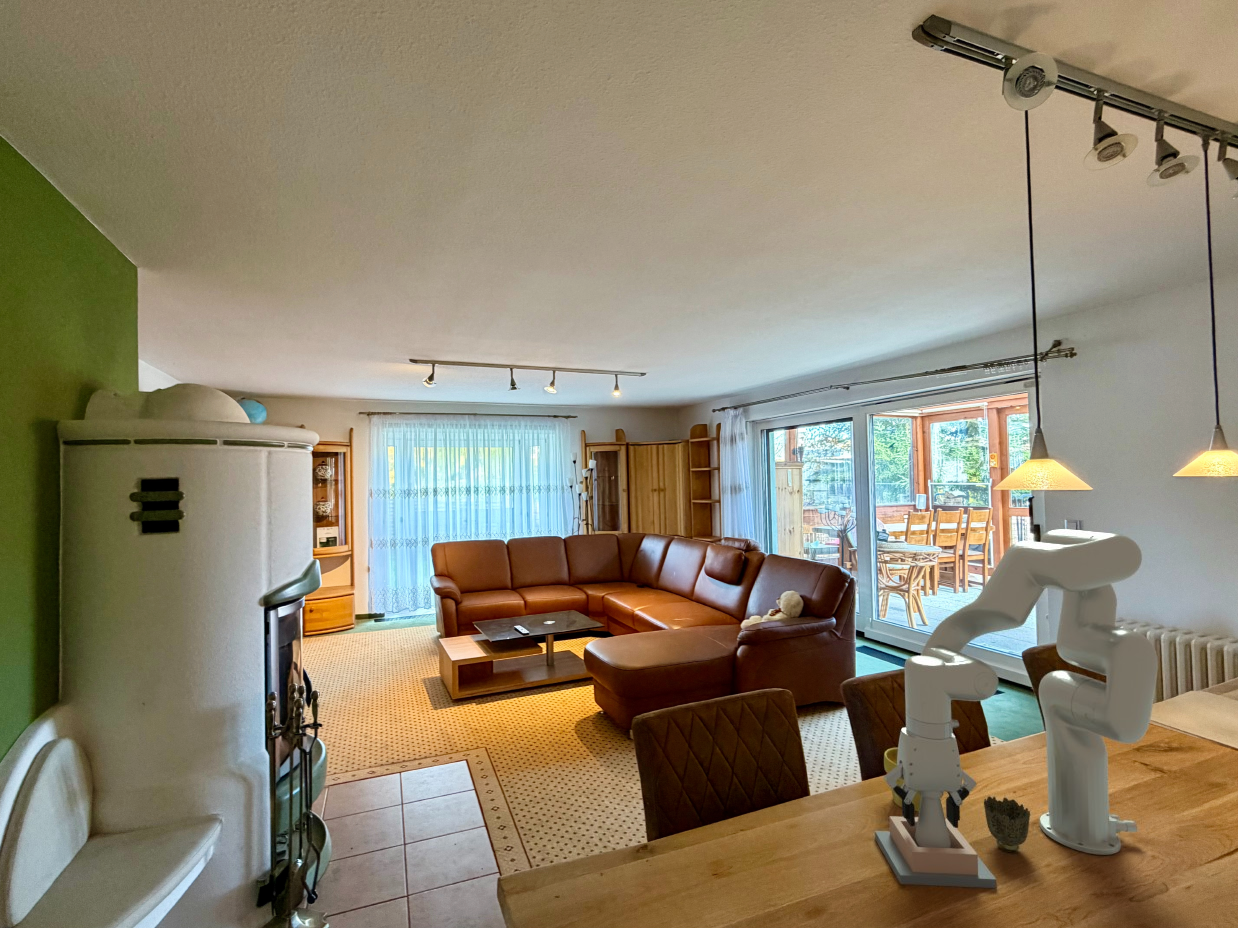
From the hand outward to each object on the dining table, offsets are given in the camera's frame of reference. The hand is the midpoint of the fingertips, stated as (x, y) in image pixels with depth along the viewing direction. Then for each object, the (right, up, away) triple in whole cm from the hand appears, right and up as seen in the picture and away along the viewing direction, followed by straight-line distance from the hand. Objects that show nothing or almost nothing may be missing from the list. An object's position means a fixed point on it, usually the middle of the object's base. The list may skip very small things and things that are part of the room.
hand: (930, 821), depth 109 cm
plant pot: (+6, -8, +19) cm, 22 cm away
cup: (+16, -7, +3) cm, 18 cm away
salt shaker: (0, -6, 0) cm, 6 cm away
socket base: (0, -7, 0) cm, 7 cm away
